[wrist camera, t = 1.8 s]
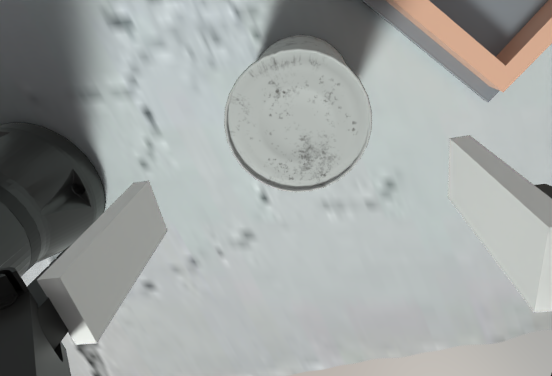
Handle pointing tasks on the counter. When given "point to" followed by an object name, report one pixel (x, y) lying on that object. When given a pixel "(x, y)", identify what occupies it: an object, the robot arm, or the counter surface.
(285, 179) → the grey stone cylinder
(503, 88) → the docking cradle
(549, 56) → the counter surface
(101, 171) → the counter surface
